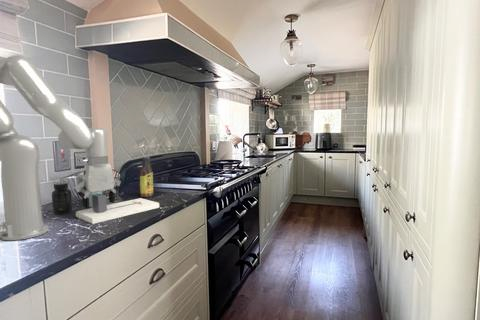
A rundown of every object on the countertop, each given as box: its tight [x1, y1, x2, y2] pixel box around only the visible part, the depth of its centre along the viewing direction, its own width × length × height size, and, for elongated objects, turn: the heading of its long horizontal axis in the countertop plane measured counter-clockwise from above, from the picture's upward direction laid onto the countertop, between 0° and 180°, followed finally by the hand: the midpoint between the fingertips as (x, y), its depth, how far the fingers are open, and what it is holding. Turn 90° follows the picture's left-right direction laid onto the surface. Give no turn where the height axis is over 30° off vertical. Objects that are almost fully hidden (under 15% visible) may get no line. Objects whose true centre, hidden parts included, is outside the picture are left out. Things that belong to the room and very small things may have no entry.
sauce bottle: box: [139, 156, 154, 198], centre depth 145 cm, size 6×6×20 cm
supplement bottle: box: [51, 181, 74, 216], centre depth 117 cm, size 7×7×12 cm
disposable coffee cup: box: [76, 172, 103, 208], centre depth 128 cm, size 11×11×15 cm
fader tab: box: [92, 193, 108, 212], centre depth 111 cm, size 3×5×6 cm, turn 51°
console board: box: [75, 197, 160, 225], centre depth 118 cm, size 28×14×2 cm, turn 141°
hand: (99, 205), depth 112 cm, fingers open, 9 cm apart
